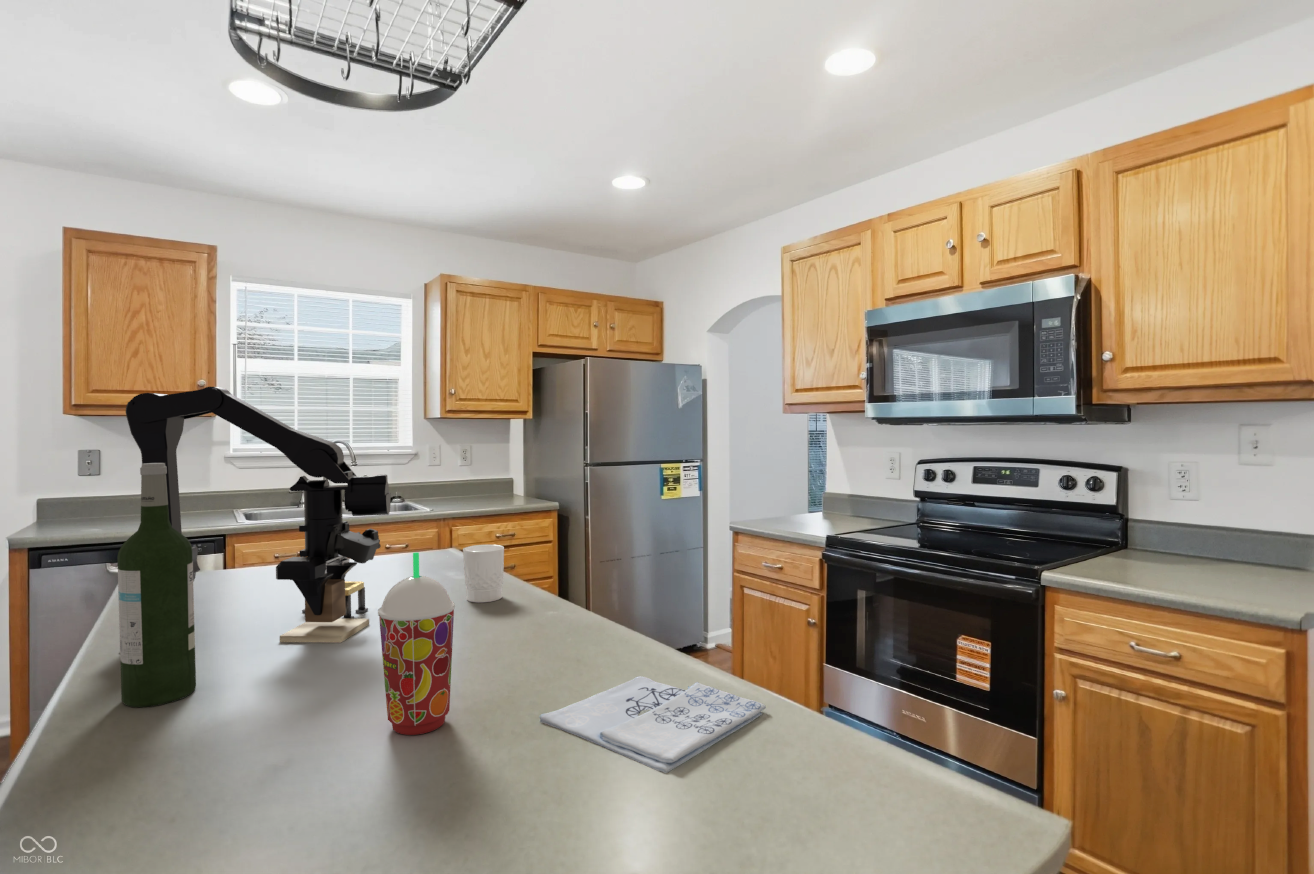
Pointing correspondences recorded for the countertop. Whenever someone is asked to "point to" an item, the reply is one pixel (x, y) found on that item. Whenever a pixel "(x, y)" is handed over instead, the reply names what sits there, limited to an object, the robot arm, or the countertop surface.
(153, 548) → the wine bottle
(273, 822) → the countertop surface
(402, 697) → the smoothie
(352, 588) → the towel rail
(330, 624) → the birch pad
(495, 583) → the white cup
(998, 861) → the countertop surface
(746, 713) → the folded bicycle towel
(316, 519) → the robot arm
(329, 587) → the walnut block
